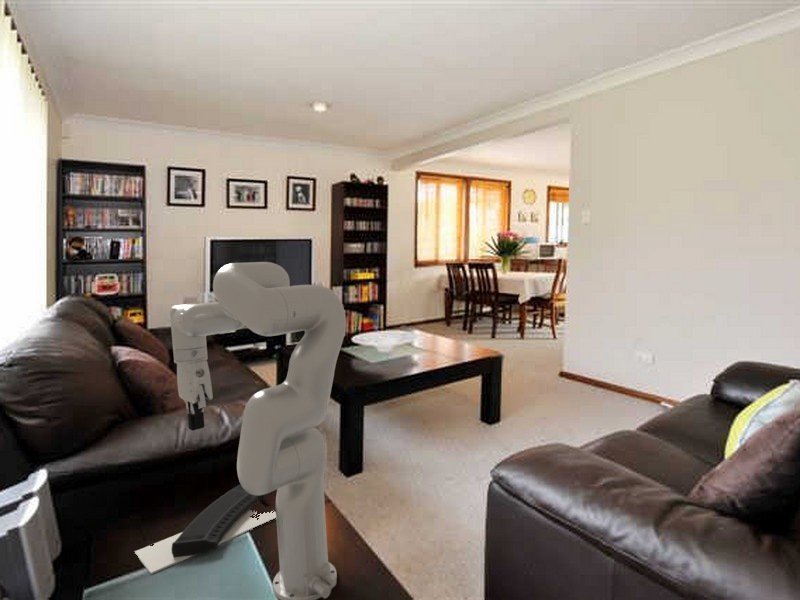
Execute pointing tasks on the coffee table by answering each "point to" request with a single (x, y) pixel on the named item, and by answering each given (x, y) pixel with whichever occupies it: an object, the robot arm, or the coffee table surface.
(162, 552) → the felt mat
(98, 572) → the coffee table surface
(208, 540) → the magazine
